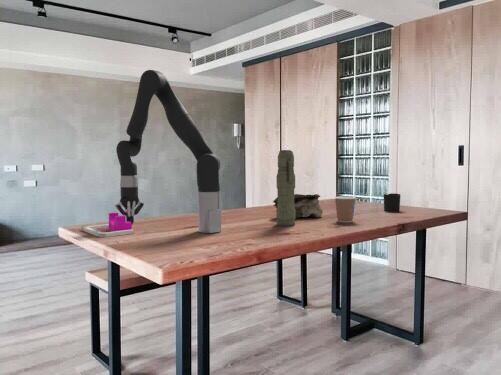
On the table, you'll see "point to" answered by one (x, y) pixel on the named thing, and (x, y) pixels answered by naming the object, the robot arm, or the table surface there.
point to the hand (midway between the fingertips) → (130, 224)
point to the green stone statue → (285, 189)
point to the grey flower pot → (345, 208)
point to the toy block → (118, 222)
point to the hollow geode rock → (305, 205)
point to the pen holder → (392, 202)
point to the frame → (107, 234)
